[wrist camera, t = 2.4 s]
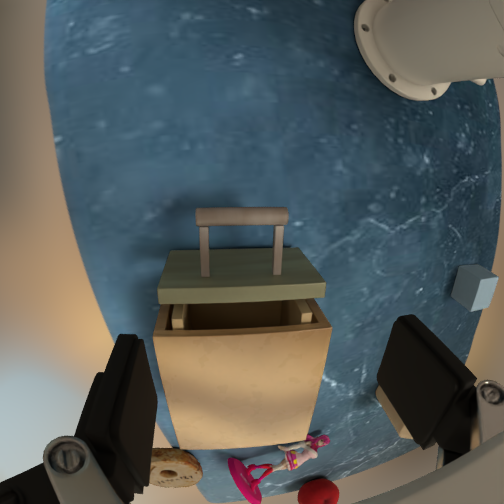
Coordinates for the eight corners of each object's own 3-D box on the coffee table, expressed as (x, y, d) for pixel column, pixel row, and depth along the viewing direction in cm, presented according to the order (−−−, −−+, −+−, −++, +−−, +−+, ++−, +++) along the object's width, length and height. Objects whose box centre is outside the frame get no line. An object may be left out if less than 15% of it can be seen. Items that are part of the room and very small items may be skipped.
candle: (404, 366, 37) (439, 412, 27) (407, 385, 39) (438, 428, 29) (372, 385, 37) (402, 435, 28) (377, 403, 39) (404, 449, 30)
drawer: (167, 195, 24) (149, 215, 17) (302, 194, 25) (334, 213, 18) (183, 367, 30) (180, 418, 23) (287, 362, 32) (303, 410, 25)
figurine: (228, 479, 31) (327, 429, 33) (226, 448, 40) (307, 405, 43) (262, 516, 30) (352, 470, 32) (254, 484, 40) (330, 444, 42)
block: (477, 263, 32) (499, 276, 28) (469, 292, 34) (489, 307, 30) (458, 265, 32) (480, 279, 28) (450, 296, 33) (470, 312, 29)
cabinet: (167, 279, 27) (152, 336, 19) (299, 275, 29) (332, 327, 20) (182, 388, 32) (180, 449, 24) (286, 382, 34) (305, 440, 25)
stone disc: (207, 470, 40) (191, 440, 37) (209, 487, 37) (191, 458, 34) (151, 474, 39) (128, 444, 36) (150, 490, 36) (125, 461, 33)
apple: (354, 495, 40) (336, 487, 48) (325, 475, 43) (310, 468, 51) (325, 524, 36) (311, 511, 45) (295, 504, 39) (284, 493, 48)
